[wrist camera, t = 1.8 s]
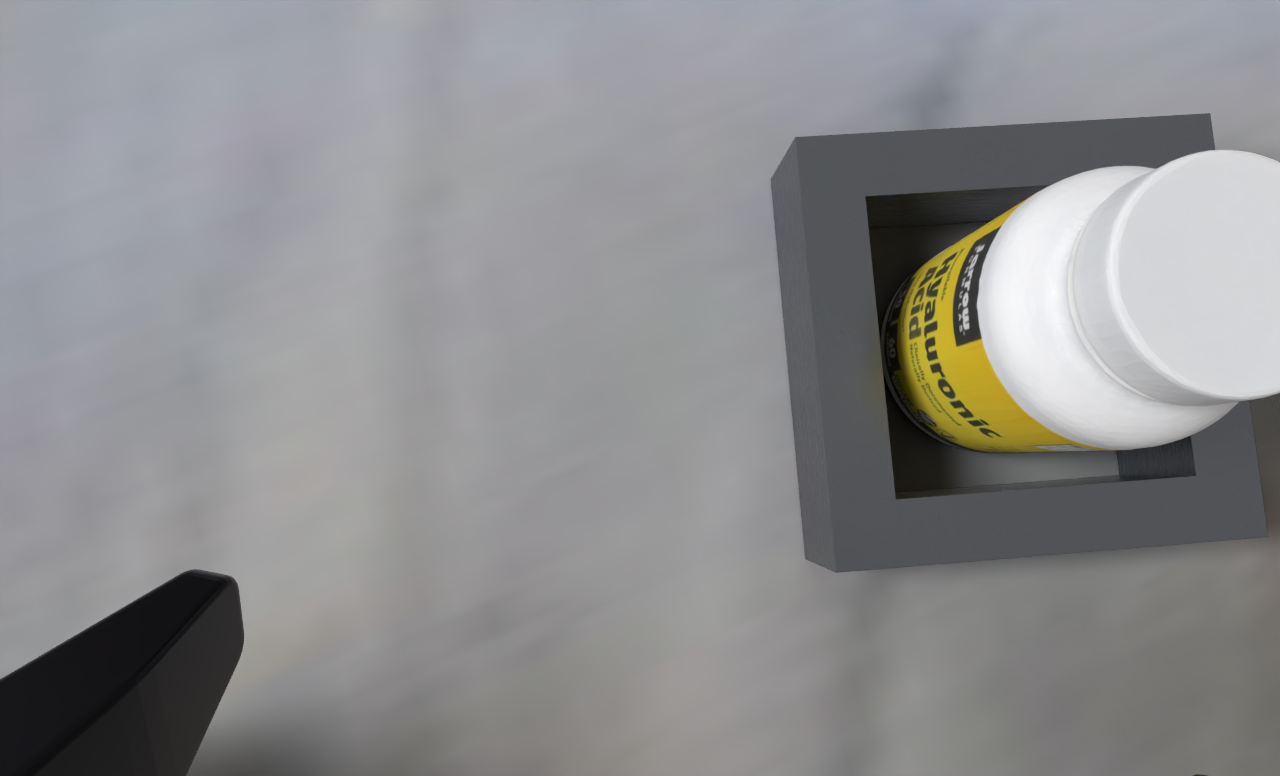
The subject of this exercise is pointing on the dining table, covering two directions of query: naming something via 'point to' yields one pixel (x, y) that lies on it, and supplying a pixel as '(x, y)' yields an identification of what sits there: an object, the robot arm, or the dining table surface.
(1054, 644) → the dining table surface
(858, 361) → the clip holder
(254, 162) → the dining table surface
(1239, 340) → the supplement bottle
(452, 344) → the dining table surface
